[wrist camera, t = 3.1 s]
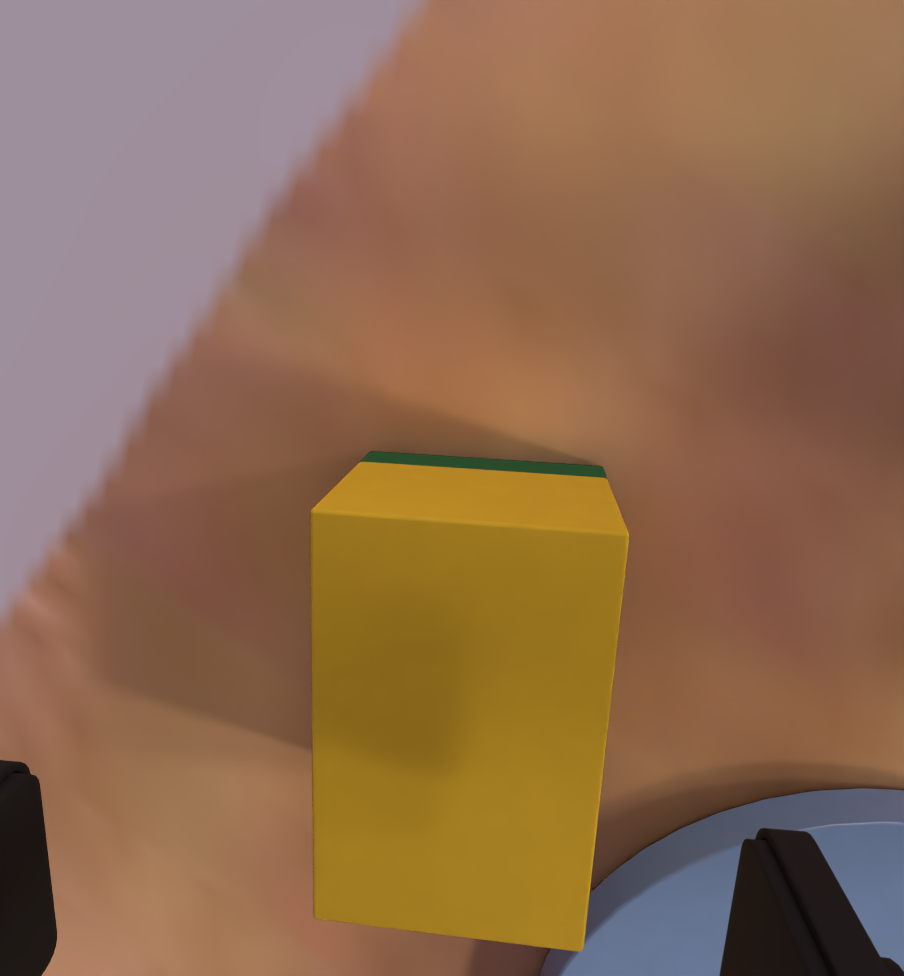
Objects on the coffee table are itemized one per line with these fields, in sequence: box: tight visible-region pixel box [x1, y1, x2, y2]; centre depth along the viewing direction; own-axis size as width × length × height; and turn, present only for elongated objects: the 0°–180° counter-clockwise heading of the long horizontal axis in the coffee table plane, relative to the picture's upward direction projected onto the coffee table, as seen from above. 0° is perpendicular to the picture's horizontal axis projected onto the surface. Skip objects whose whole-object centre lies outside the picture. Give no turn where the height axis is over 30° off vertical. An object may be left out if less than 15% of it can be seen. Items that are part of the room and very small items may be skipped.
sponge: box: [310, 451, 629, 952], centre depth 15 cm, size 8×5×4 cm, turn 178°
